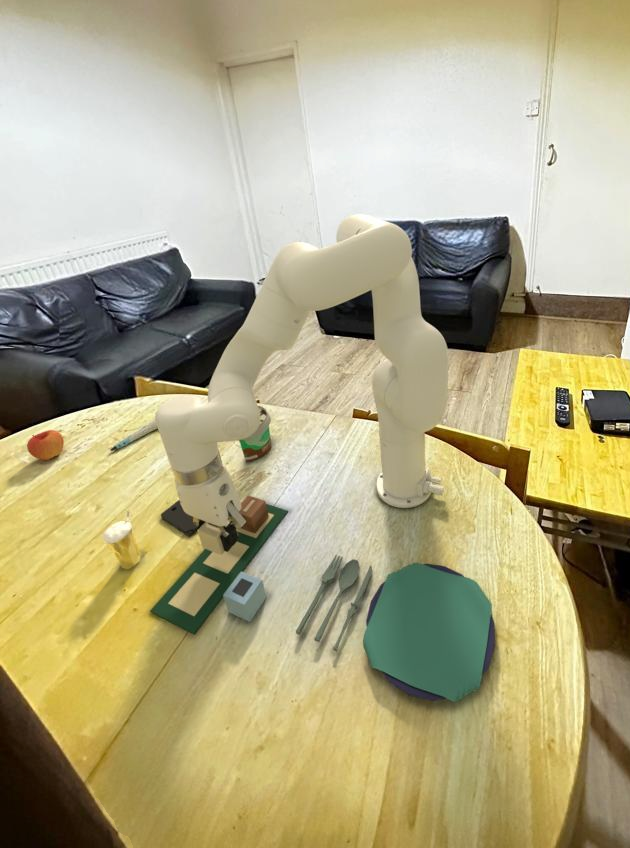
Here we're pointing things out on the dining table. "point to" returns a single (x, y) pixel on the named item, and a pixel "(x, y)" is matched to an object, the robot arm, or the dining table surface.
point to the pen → (136, 435)
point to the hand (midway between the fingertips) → (220, 540)
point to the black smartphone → (179, 519)
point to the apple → (46, 445)
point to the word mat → (212, 577)
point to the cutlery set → (421, 628)
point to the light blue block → (245, 596)
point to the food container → (258, 439)
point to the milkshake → (123, 543)
